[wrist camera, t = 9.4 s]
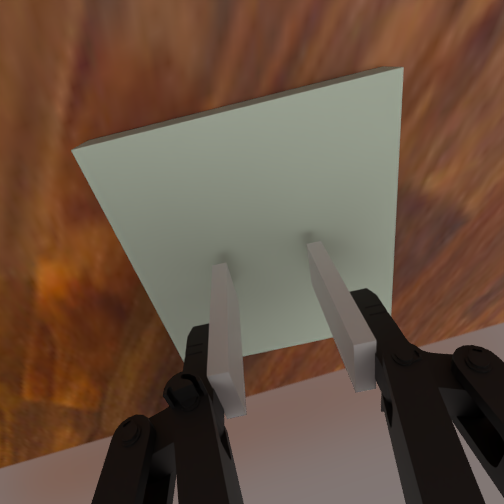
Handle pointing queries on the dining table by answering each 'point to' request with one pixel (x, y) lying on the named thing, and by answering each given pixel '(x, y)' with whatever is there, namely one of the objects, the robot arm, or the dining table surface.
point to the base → (258, 203)
